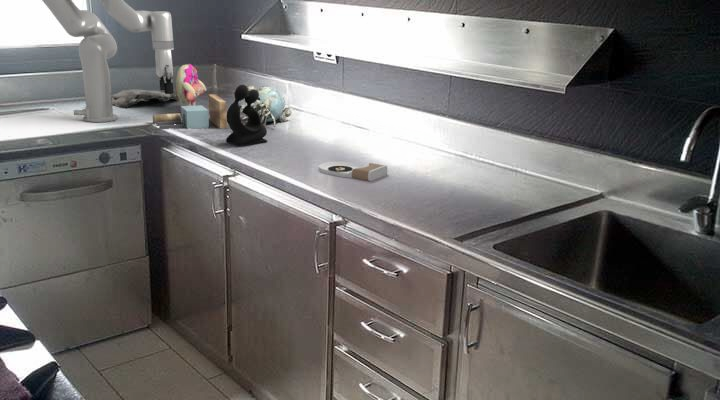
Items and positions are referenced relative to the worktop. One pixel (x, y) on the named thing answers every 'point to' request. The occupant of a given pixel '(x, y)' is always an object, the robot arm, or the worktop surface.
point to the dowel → (166, 117)
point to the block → (195, 116)
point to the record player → (354, 170)
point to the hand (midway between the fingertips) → (166, 91)
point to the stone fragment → (139, 97)
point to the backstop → (217, 111)
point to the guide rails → (170, 125)
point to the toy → (188, 85)
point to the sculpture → (268, 105)
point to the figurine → (254, 126)
